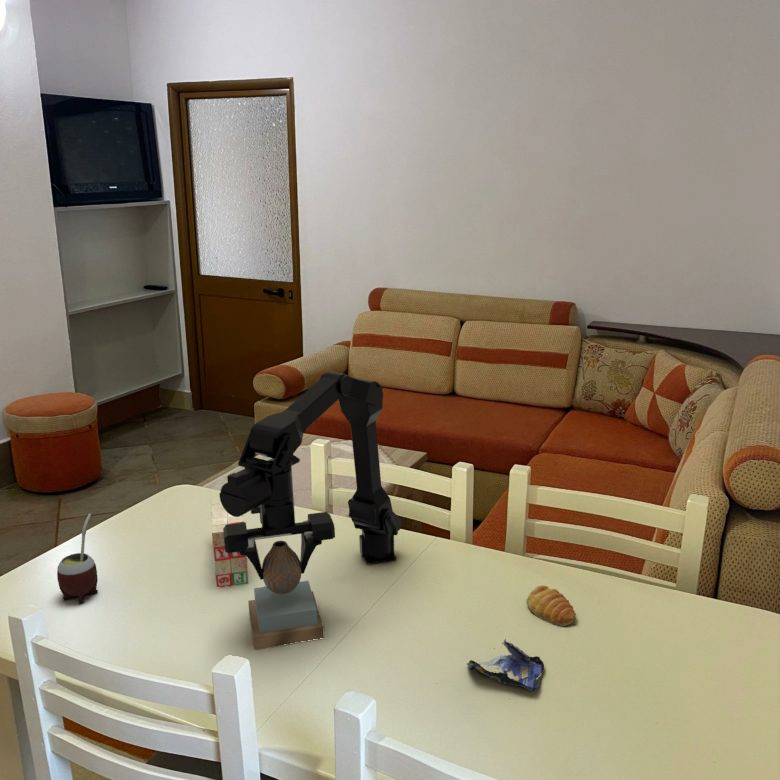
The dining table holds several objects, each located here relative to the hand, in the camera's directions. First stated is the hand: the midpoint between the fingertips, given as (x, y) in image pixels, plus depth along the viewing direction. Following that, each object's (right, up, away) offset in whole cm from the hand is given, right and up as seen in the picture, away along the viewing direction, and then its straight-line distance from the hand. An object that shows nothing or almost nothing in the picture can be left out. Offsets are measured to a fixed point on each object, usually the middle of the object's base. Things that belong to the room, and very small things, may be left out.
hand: (282, 575), depth 135 cm
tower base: (0, -10, +3) cm, 11 cm away
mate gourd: (-41, -7, +14) cm, 44 cm away
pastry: (+49, -8, +5) cm, 49 cm away
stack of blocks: (-14, -3, +26) cm, 30 cm away
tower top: (0, -7, +2) cm, 8 cm away
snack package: (+38, -14, -12) cm, 42 cm away
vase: (0, -3, +1) cm, 3 cm away
